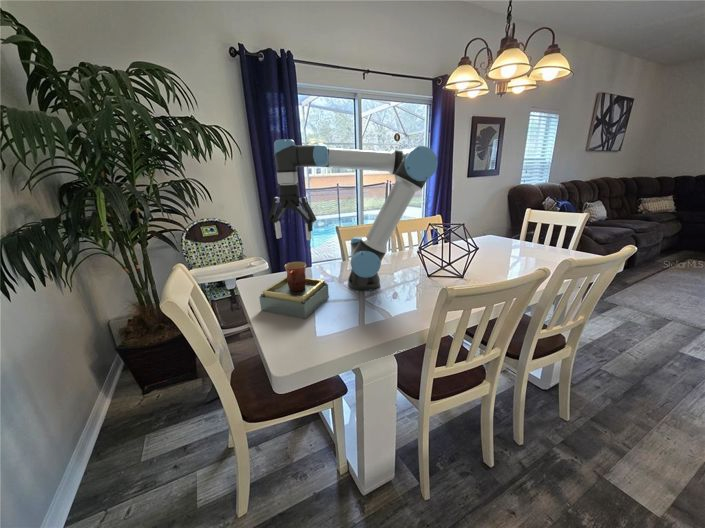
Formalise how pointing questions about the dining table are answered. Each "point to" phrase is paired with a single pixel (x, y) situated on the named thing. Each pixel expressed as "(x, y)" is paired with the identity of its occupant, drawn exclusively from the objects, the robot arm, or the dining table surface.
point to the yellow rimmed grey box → (294, 298)
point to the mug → (296, 275)
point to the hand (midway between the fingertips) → (293, 238)
